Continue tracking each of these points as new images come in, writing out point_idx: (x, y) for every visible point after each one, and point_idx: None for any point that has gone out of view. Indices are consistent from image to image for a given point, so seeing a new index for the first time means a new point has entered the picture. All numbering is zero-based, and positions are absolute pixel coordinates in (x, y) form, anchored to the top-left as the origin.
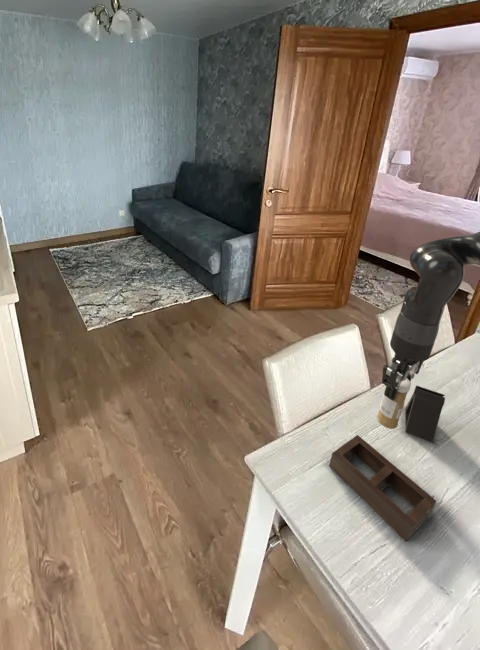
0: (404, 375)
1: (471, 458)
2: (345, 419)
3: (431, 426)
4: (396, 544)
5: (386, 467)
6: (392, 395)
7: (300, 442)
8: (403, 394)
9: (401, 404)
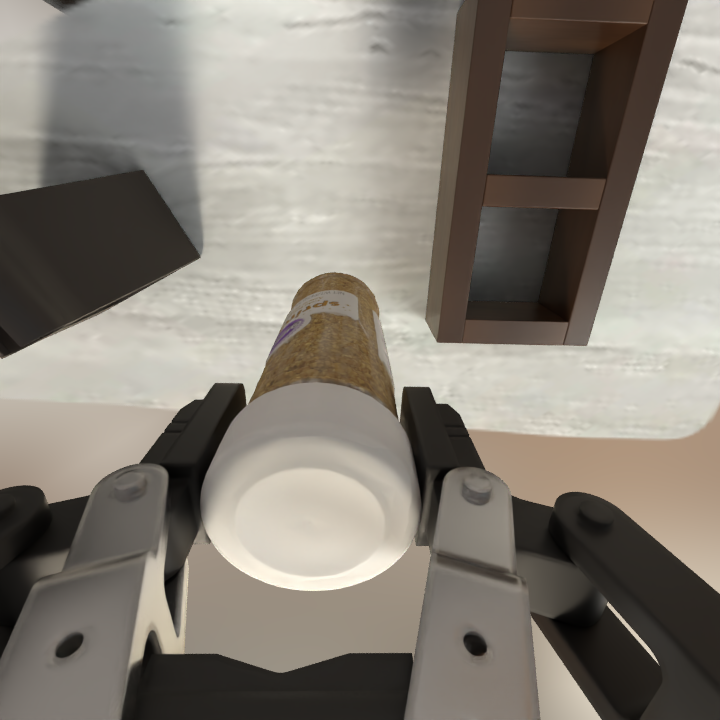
0: (538, 712)
1: (49, 29)
2: None
3: (104, 198)
4: None
5: (492, 199)
6: (443, 422)
7: (543, 412)
8: (353, 382)
9: (346, 332)
